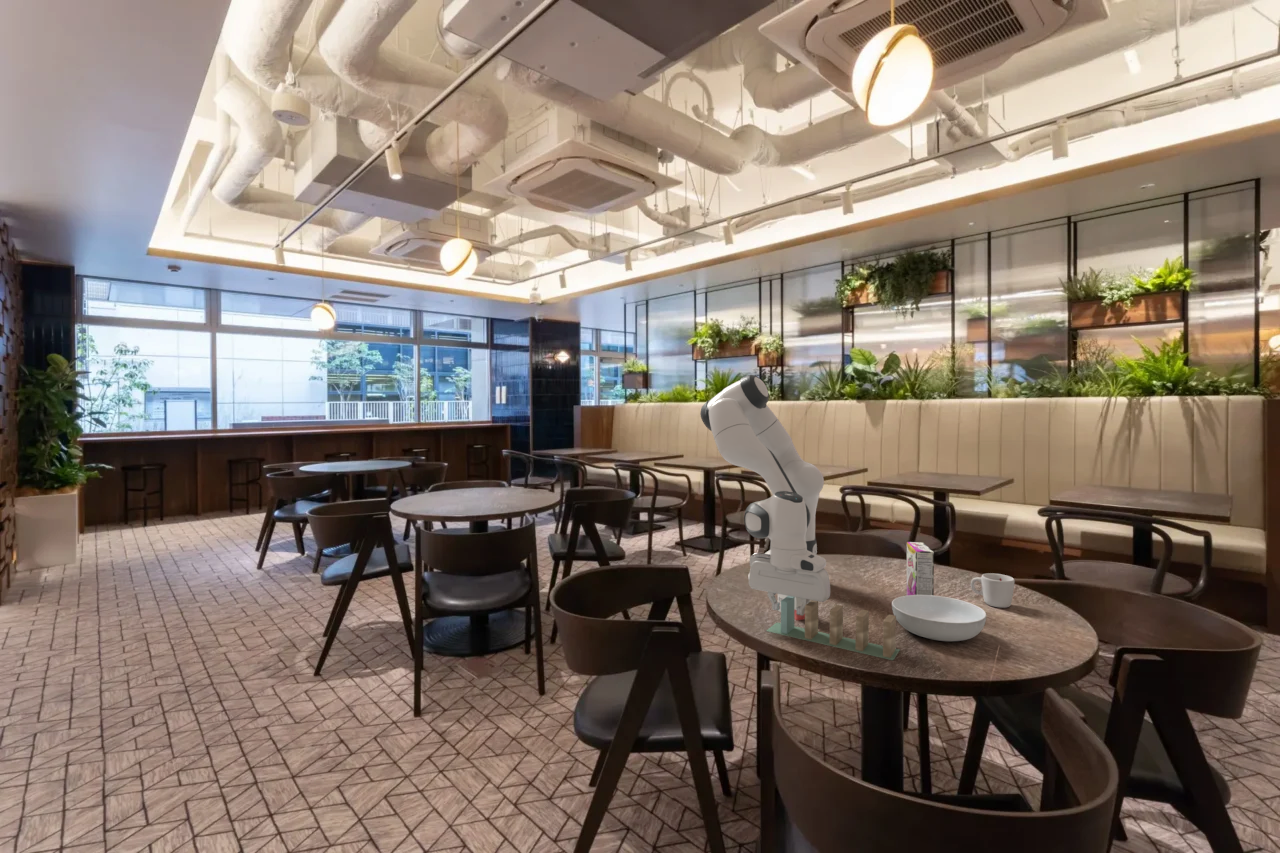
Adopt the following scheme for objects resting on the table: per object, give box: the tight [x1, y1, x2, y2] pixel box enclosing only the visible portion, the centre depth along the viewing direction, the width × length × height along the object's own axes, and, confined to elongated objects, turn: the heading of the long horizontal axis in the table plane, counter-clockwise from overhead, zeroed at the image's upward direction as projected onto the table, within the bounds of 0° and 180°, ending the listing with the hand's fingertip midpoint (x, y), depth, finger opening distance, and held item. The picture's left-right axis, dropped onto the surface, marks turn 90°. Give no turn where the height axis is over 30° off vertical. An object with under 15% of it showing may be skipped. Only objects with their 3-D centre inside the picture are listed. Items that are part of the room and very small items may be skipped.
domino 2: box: [804, 600, 819, 639], centre depth 146 cm, size 2×5×8 cm, turn 145°
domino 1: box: [780, 596, 795, 634], centre depth 149 cm, size 2×5×8 cm, turn 145°
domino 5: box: [882, 614, 897, 658], centre depth 135 cm, size 2×5×8 cm, turn 145°
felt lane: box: [765, 622, 901, 661], centre depth 143 cm, size 30×7×1 cm, turn 55°
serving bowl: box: [891, 594, 987, 642], centre depth 147 cm, size 21×21×7 cm
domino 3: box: [829, 604, 844, 645], centre depth 142 cm, size 2×5×8 cm, turn 145°
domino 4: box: [855, 609, 870, 651], centre depth 139 cm, size 2×5×8 cm, turn 145°
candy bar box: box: [905, 541, 935, 596], centre depth 169 cm, size 11×5×16 cm, turn 168°
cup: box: [970, 572, 1016, 609], centre depth 168 cm, size 11×8×8 cm
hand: (788, 612), depth 149 cm, fingers open, 5 cm apart
